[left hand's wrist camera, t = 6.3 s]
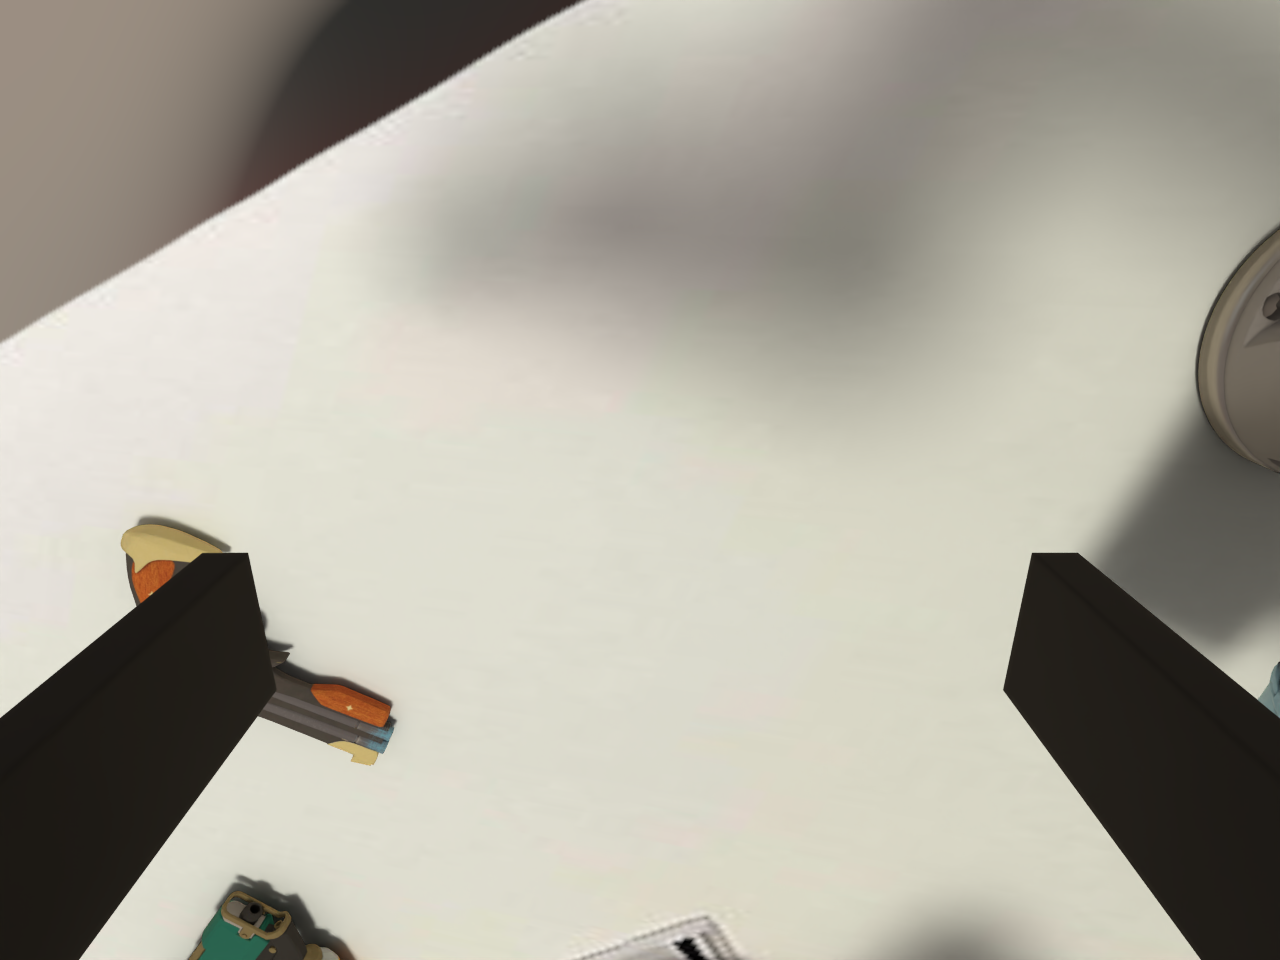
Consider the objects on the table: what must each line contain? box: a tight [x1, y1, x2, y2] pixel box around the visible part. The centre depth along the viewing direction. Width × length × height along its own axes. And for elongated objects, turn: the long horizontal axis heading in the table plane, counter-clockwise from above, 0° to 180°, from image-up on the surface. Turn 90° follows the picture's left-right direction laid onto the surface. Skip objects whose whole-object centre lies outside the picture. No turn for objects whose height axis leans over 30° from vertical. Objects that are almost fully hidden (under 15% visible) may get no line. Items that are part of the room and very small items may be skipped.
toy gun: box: [121, 524, 394, 765], centre depth 46 cm, size 3×19×10 cm
